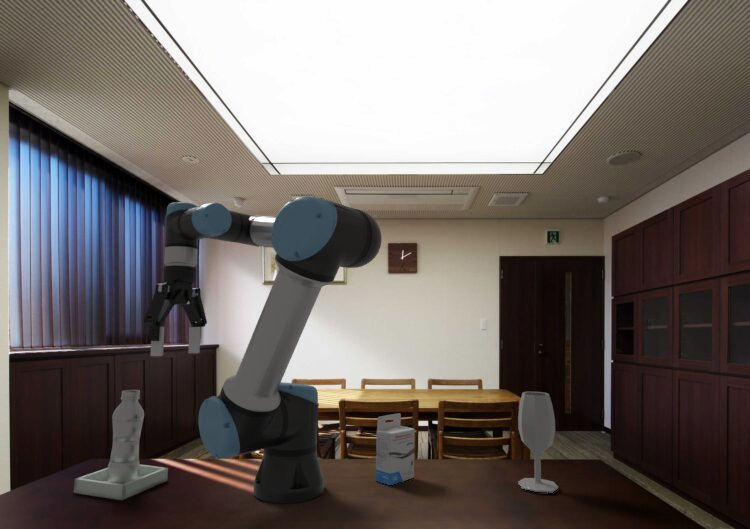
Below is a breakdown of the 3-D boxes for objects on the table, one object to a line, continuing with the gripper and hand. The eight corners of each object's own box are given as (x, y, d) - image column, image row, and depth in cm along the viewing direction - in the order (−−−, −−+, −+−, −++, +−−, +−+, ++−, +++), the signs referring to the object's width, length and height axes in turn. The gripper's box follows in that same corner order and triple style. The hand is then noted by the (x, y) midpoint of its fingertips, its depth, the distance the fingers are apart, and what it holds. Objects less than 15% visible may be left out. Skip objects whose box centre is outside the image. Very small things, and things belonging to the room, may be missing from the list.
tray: (167, 480, 110) (167, 467, 110) (121, 500, 98) (122, 486, 98) (122, 474, 114) (123, 462, 114) (73, 492, 102) (74, 478, 102)
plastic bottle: (125, 489, 102) (134, 393, 105) (98, 486, 103) (107, 391, 106) (145, 480, 108) (153, 390, 111) (119, 477, 110) (128, 388, 112)
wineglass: (516, 491, 106) (514, 394, 108) (520, 479, 114) (518, 389, 116) (558, 497, 103) (555, 397, 105) (559, 484, 111) (556, 392, 113)
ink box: (390, 487, 108) (390, 420, 109) (374, 481, 111) (375, 416, 113) (415, 479, 114) (415, 415, 115) (399, 474, 117) (400, 412, 119)
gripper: (197, 272, 129) (194, 352, 127) (129, 259, 106) (123, 357, 103) (222, 271, 128) (219, 352, 125) (158, 258, 104) (153, 357, 101)
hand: (176, 354), depth 114 cm, fingers open, 13 cm apart
